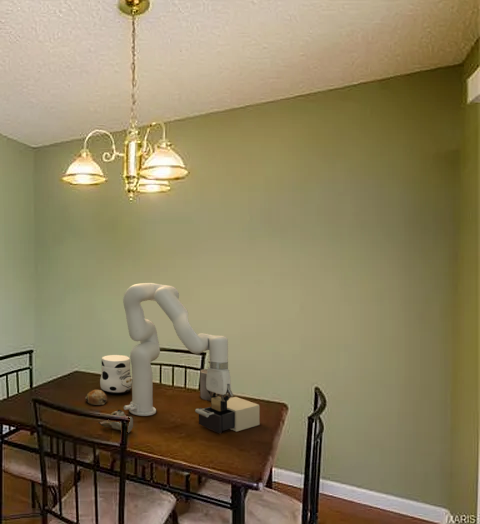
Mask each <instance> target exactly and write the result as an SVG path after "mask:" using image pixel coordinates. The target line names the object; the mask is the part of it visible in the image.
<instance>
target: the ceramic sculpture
mask: <svg viewBox="0 0 480 524" xmlns="http://www.w3.org/2000/svg"><path fill="white" fill-rule="evenodd" d="M109 415H119V416H126V414H125V412H124V411H123V410H121V409H118V410H115V411H112V412H111V413H110V414H109ZM128 417H129V418H130V422H129V426H128V433H127V434H130V432H131V431H133V429H134V418H133V417H132V416H128ZM98 424H99V425H100V426H102V427H103V428H106V429H112V430H116V431H121V423H119V422H111V421H108V420H104V421H98Z"/></svg>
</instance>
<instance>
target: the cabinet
mask: <svg viewBox="0 0 480 524" xmlns="http://www.w3.org/2000/svg"><path fill="white" fill-rule="evenodd" d="M227 409H228V410H230V411H233V412H235V427H234V428H231V429H230V430H231V431H234V432H236V433H237V432H239V431H243V430H247V429H250V428H254V427H257V426H260V422H261V421H260V417H261V416H260V414H261V413H260V404H259V403H255V402H251V401H249V400H247V399H243V398H241V397H238V396H233V397H231V398H230V399H229V400H228V401H227Z"/></svg>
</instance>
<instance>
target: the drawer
mask: <svg viewBox="0 0 480 524" xmlns="http://www.w3.org/2000/svg"><path fill="white" fill-rule="evenodd" d="M194 412H195V413H196V414H198V425H199V426H202V427H204V428H206V429H209V430H211V431H213V432H214V433H217V434H222V432H224V431H228V430H231V428H234V427H235V412H233V411H230V410H228V409H227V410H225V411H217V410H215V409H212V408H211V406H208V407H203V408H202V407H199V408H195V411H194Z"/></svg>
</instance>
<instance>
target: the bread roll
mask: <svg viewBox="0 0 480 524" xmlns="http://www.w3.org/2000/svg"><path fill="white" fill-rule="evenodd" d="M85 400H86V402H87V403H88V404H89V405H91V406H103V405H105V404H106V403H107V402H108V396H107V393H106V392H105V391H103V390H102V389H92V390H90V391H89V392H88V393H87V394H86V396H85Z"/></svg>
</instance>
